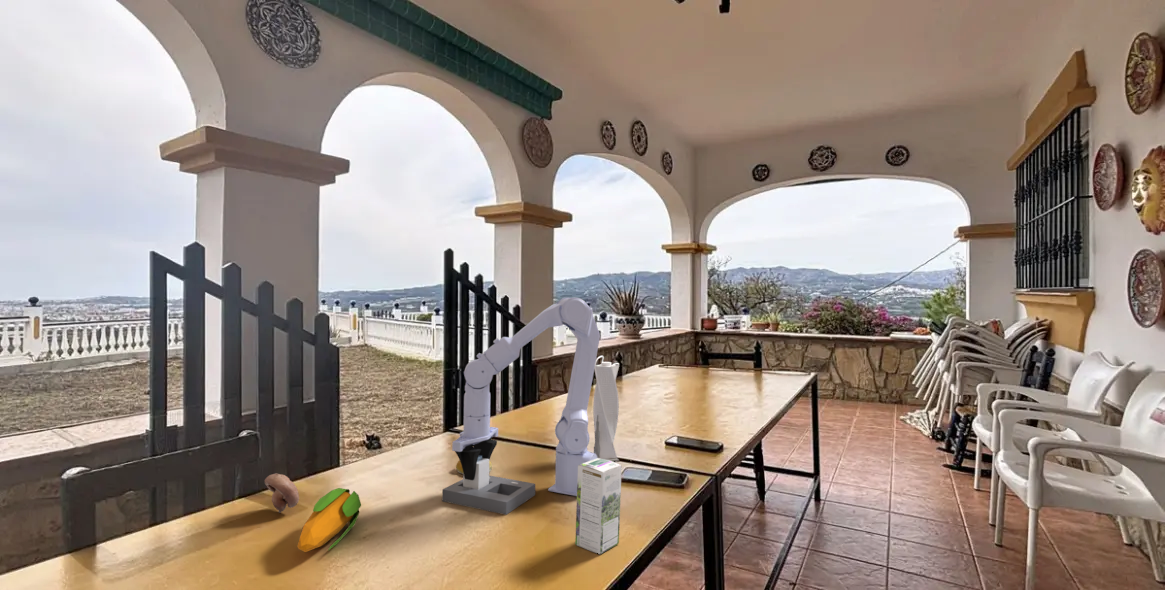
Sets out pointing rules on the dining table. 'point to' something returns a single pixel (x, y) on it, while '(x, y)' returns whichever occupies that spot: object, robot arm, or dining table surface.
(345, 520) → the corn
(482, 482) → the plug
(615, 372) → the skyscraper
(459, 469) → the bread roll
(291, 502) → the mushroom
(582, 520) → the syrup box
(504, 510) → the port panel
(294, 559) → the dining table surface
